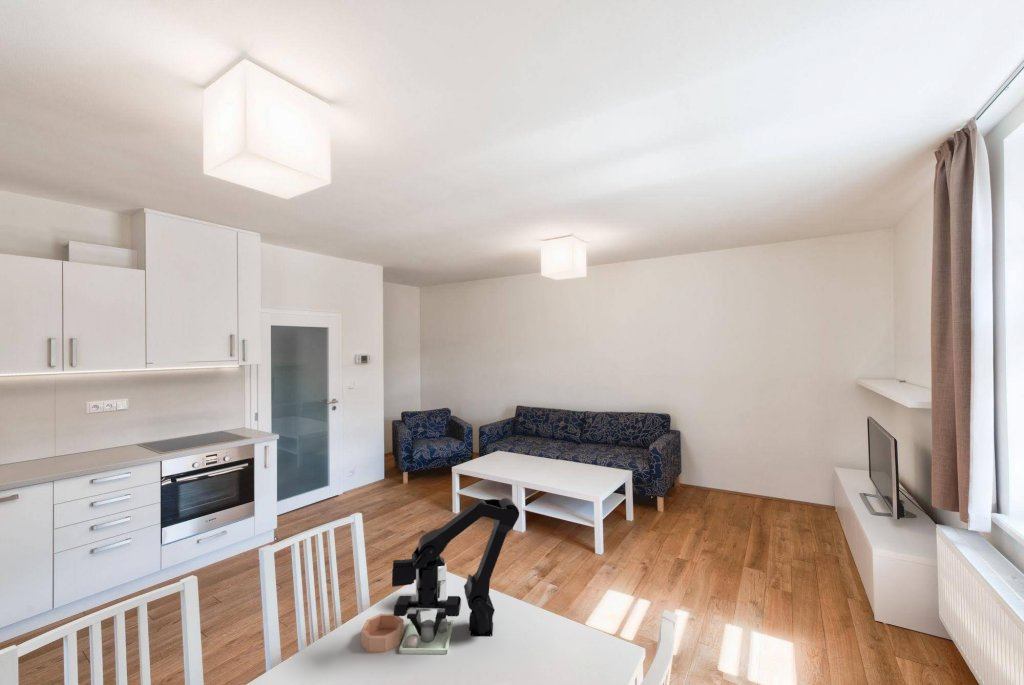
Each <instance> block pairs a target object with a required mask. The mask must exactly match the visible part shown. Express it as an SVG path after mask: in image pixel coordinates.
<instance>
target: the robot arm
mask: <svg viewBox="0 0 1024 685" xmlns="http://www.w3.org/2000/svg"><path fill="white" fill-rule="evenodd" d="M482 517H483V518H489V519H493V527H492V530H491V533H490V535H489V538H488V541H487V543H486V546H485V548H484V552H483V555H482V557H481V560H480V562H479V565H478V568H477V571H476V572H475V573H474V574H473V575H471V574H468V575H467V580H466V582H465V584H464V585H463V590H464V595H465V599H466V603H467V605H468V609H469V610H470V611H471V612H469V617H468V618H469V621H468V622H469V627H468V630H469V632H470V636H471V637H490V638H491V637H493V635H494V634H493V632H494V621H493V618H494V613H495V607H494V605H493V601H492V600H491V597H490V583H491V578H492V576H493V572H494V569H495V567H496V565H497V562H498V559H499V556H500V553H501V551H502V548H503V546H504V542H505V540H506V538H507V535H508V533H509V532H510V531H511V530H513V528H514V527H515V525H516V523H517V521H518V519H519V517H520V511H519V508H518V507H517V505H516V504H515V503H514V502H513V500H512V499H511V498H508V497H504V498H502V499H497V498H489V499H484V498H478V499H475V501H474V502H472V504H471V505H470V506H468V507H467V508H465V509H464V510H463V511H461V512H460V513H459V514H458V515H456V516H455V517H454V518H452V519H451V520H450V521H449V522H447V523H446V524H444V525H443V526H441V527H439V528H435V529H432V530H431V531H428V532H426V533H425V534H423V535H422V536H421V537H420V538H419V540H418V544H417V546H416V548H415V549H414V551H413V552H412V554H411V558H407V559H406V558H405V559H393V561H392V570H391V571H392V572H391V575H392V576H391V587H392V588H394V587H402V586H408V585H409V586H411V585H413V584H414V583H415V581H416V569H418V583H417V590H418V601H416V600H413V597H412V595H399V596H398V597H397V599H396V601H395V603H394V605H393V614H394V616H399V617H404V616H406V619H407V620H411V622H412V623H413V625H414V626H415V628H416V630H417V632H418V634H419V636H421V620H422V619H421V618H422V615H421V610H428V609H432V610H436V614H435V619H434V620H435V627H434V636H436V633H437V630H438V627H439V625H440V623H441V621H442V619H445V618H446V619H447V617H458V616H460V613H461V612H460V611H461V608H462V598H461V597H460V595H447V597H446V600H440V601H438V598H439V597H440V586H441V581H438V567H439V566H445V564H446V562H445V558H444V557H443V556H441V554H442V553H443V552H444V550H445V549H446V548H447V546H448V545H449V543H450V542H451V541H452V540H453V539H455V538H456V537H458V536H460V534H461V533H463V532H464V531H465V530H467V529H468V528H469V527H470V526H472V525H473V524H475V523H476V522H477V521H479V520H480V518H481V519H482Z"/></svg>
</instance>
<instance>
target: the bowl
mask: <svg viewBox="0 0 1024 685" xmlns="http://www.w3.org/2000/svg"><path fill="white" fill-rule="evenodd" d="M404 622H405V621H404V619H403V618H402V617H401V616H394V613H379V614H377V615H374V616H373V617H370V618H367V619H366V620H365V622H364V624H363V626H362V627H361V632H360V644H361V646H362V647H363V648H364V649H365V650H366V651H367V652H368V653H387V652H388V651H390V650H391V649H393V648H395V647H397V646H399V645H401V643H402V640H403V638H404V635H405V633H404V631H405V630H404V629H405V628H404V624H405V623H404Z"/></svg>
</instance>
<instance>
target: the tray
mask: <svg viewBox="0 0 1024 685" xmlns="http://www.w3.org/2000/svg"><path fill="white" fill-rule="evenodd" d="M409 620H410V619H409ZM423 621H425V619H423V620H422V619H421V623H422V622H423ZM433 621H434V622H435V619H433ZM453 628H454V620H448V619H447V630H446V631H445V632H443V633H439V632H438V631H437V633H436V636H435V639H434V640H433V641H432V642H429V643H424V642H422V641H421V636H419V634H418V632H417V630H416V628H415V626H414V625H413V623H412V622H411V620H410V621H409V623H408V626H407V627H406V630H405V633H404V635H403V637H402V640H401V643H400V646H399V649H398V654H399V655H448V651H449V645H450V642H451V637H452V633H453ZM411 634H416V635H418V648H407V637H408V636H409V635H411Z"/></svg>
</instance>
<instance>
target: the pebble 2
mask: <svg viewBox="0 0 1024 685" xmlns="http://www.w3.org/2000/svg"><path fill="white" fill-rule="evenodd" d="M447 620H448V619H447V617H446V618H445V619H442V621H441V623H440V625H439V627H438V630H437V631H438V632H439V633H443V632H445V631H446V630H447Z"/></svg>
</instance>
